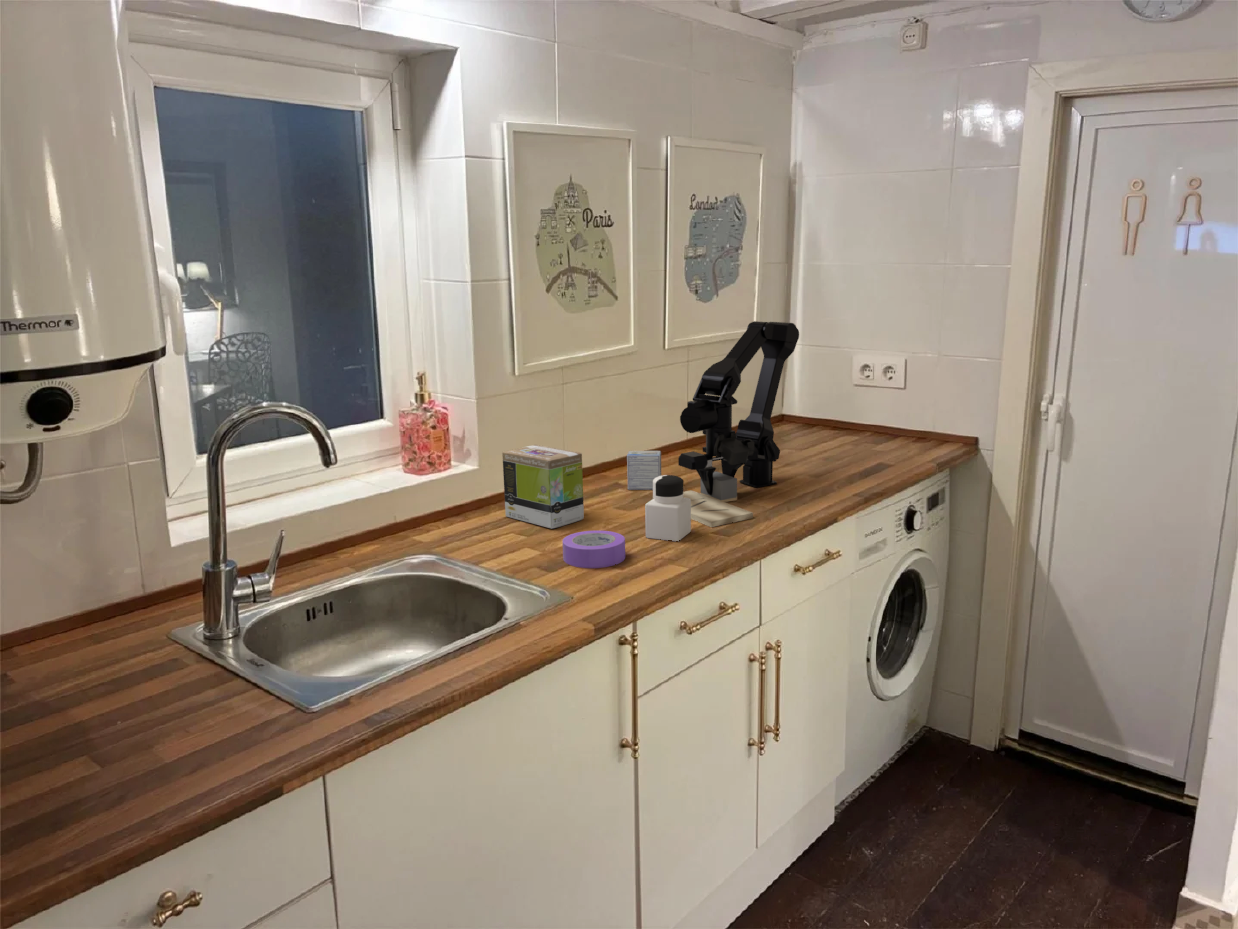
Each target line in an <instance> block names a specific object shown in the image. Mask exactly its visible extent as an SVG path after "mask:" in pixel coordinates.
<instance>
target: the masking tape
mask: <svg viewBox="0 0 1238 929" xmlns="http://www.w3.org/2000/svg"><path fill="white" fill-rule="evenodd" d="M562 559H563V562H564V563H565V564H567V565H569V566H572V567H576V568H582V569H600V568H608V567H612V566H616V565H618V564H619V565H620V563H622V562H624V560H625V559H626V538H625V536H624V535H623V534H621V533H618V532H615V531H610V530H609V531H608V530H585V531H579V532H575V533H571V534H569V535H566V536H565V537H564V538H562ZM615 564H616V565H615Z"/></svg>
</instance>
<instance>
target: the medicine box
mask: <svg viewBox="0 0 1238 929" xmlns="http://www.w3.org/2000/svg"><path fill="white" fill-rule="evenodd" d="M626 462H627V464H626V469H627V470H626V472H627V490H628V491H630V490H631V491H632V490H635V491H637V490H638V491H639V490H642V491H643V490H649V491H650V490H651V491H653V480H654V479H655V478H656V477H659V476H662V451H661V450H629V451H628V452H627V455H626Z"/></svg>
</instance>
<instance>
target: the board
mask: <svg viewBox="0 0 1238 929" xmlns="http://www.w3.org/2000/svg"><path fill="white" fill-rule="evenodd" d="M683 498H690V499H691V521H692V520H693V521H694V522H695V521H696V522H697V521H698V522H697V523H700V524H703V525H705V526H707V527H710V528H713V527H715V528H716V527H718V526H722V525H727V524H733V523H736V522H741V521H746V520H750V519H754V512H752V511H750V510H747V509H744V508H742V507H739V506H736V505H733V504H732V503H731V504H730V503H729V502H722V501H720V500H717V499H714V498H711V497H709V496H706V495H703V494H701V492H697V491H694V490H686V491H683ZM652 499H654V498H653V497H651V500H652ZM732 522H733V523H732Z"/></svg>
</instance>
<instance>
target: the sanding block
mask: <svg viewBox="0 0 1238 929" xmlns="http://www.w3.org/2000/svg"><path fill="white" fill-rule="evenodd" d="M700 494H703V495H706V496H709V497H711V498H714V499H717V500H720V501H722V502H725V503H729V502H732V501H737V500H738V478H736V477H735V476H734V477H731V476H728V475H726V474H723V473H722V472H720V471H716V470H715V471H714V473H713V492H712V495H709V494H708V493H707V491H706V488H705V486H704V484H703V482H702V480H701V479H700Z"/></svg>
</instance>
